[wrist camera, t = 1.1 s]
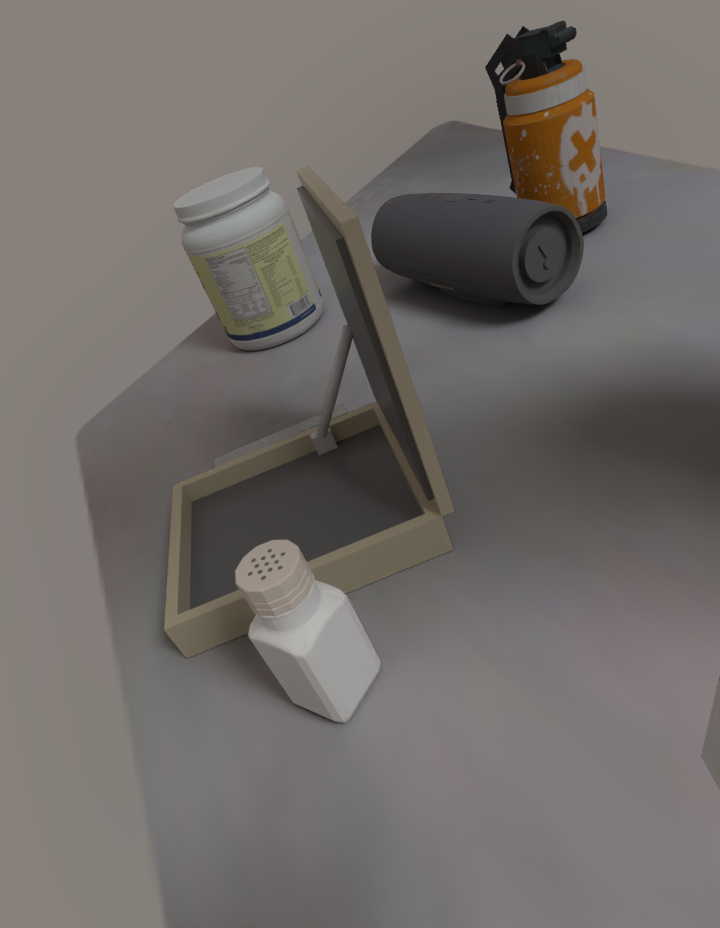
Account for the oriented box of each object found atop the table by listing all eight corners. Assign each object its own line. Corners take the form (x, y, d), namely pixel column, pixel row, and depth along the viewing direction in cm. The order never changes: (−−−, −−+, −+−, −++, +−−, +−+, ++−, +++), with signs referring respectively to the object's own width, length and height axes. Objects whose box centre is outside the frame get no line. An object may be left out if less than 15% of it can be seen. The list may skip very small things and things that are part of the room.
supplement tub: (248, 317, 85) (187, 186, 75) (335, 293, 81) (282, 153, 72) (220, 364, 75) (146, 221, 66) (317, 339, 71) (254, 185, 62)
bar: (349, 419, 57) (343, 404, 56) (353, 427, 55) (347, 412, 54) (222, 472, 57) (213, 458, 56) (223, 482, 55) (214, 468, 54)
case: (465, 544, 40) (357, 216, 28) (186, 658, 40) (-33, 378, 28) (400, 424, 53) (308, 166, 41) (189, 510, 53) (40, 277, 41)
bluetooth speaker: (595, 288, 60) (581, 178, 55) (521, 336, 58) (498, 227, 52) (444, 260, 78) (422, 175, 72) (383, 296, 75) (355, 211, 70)
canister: (568, 250, 68) (536, 34, 57) (495, 241, 77) (455, 52, 66) (625, 213, 71) (605, -1, 60) (549, 209, 80) (519, 21, 68)
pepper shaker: (387, 666, 35) (324, 540, 29) (347, 731, 32) (271, 608, 27) (330, 645, 37) (262, 526, 32) (289, 705, 35) (208, 587, 29)
